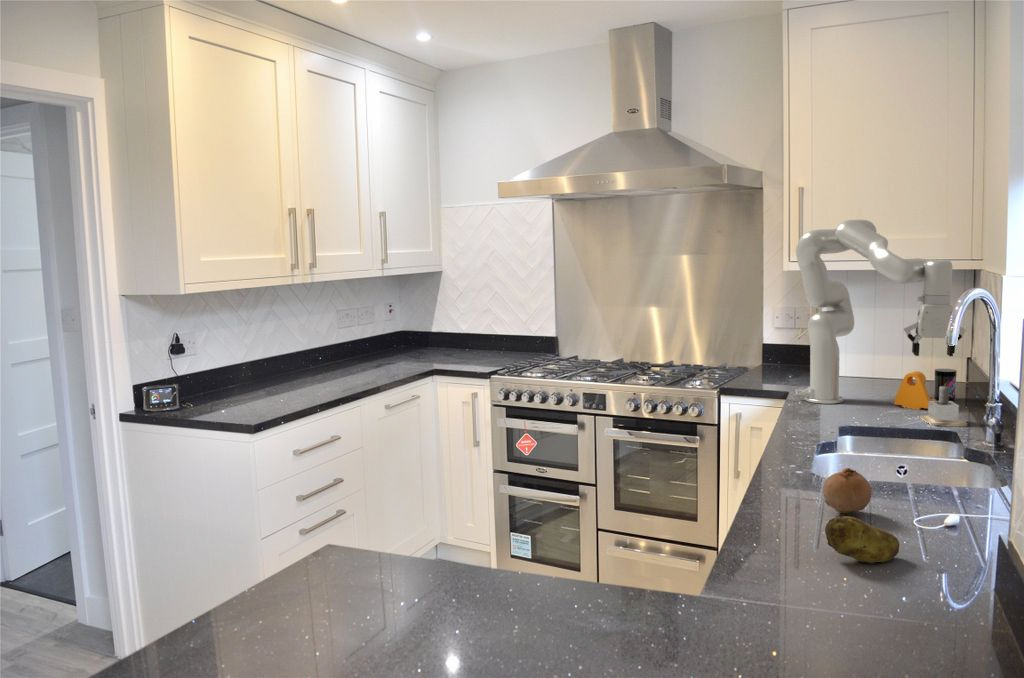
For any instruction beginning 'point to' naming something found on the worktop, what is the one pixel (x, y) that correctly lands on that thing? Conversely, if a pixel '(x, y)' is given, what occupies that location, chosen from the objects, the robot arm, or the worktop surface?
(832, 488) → the onion
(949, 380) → the supplement container
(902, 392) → the bracket
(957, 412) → the collar
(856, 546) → the potato
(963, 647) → the worktop surface
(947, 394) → the post stand
